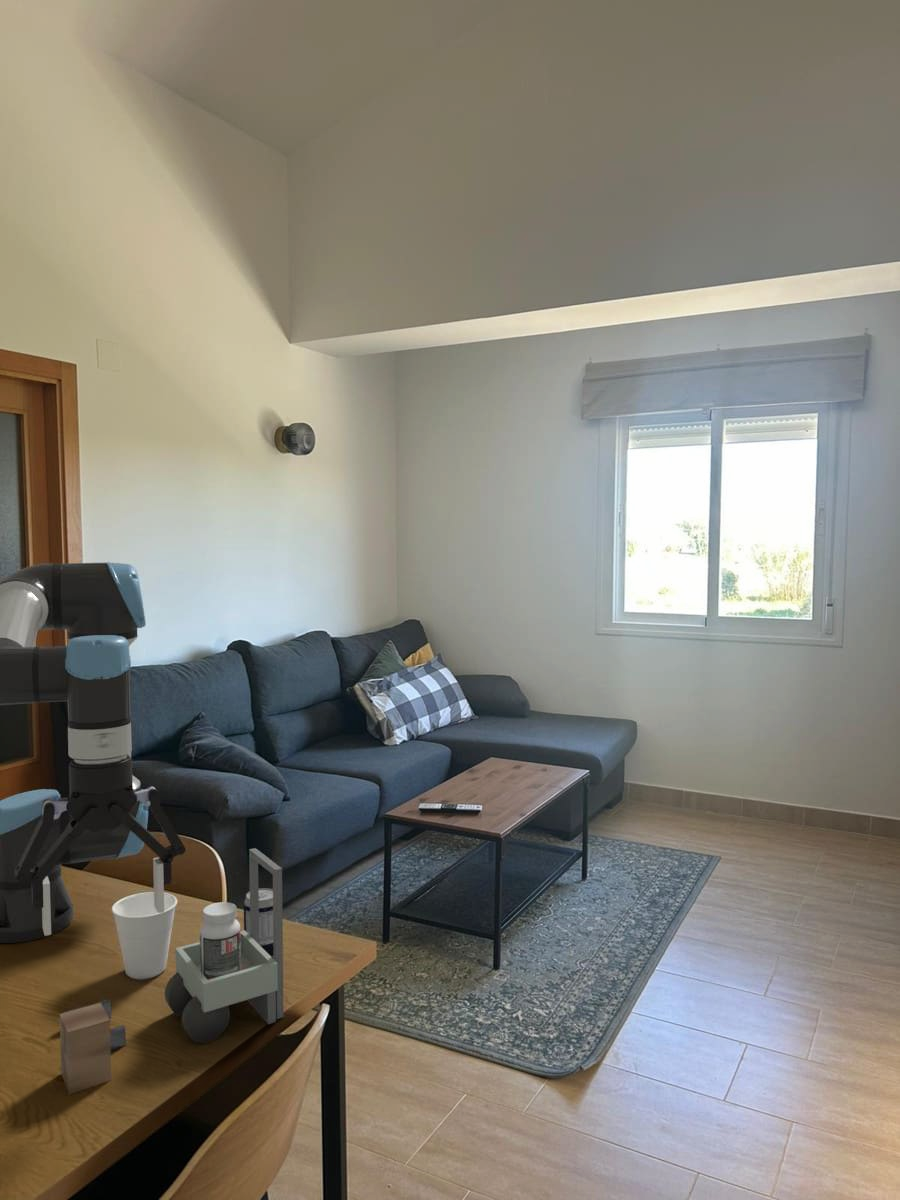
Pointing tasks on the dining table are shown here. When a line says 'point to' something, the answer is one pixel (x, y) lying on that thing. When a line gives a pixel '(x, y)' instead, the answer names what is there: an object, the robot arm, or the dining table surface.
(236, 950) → the pill bottle
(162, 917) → the cup
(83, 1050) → the brown rectangular block
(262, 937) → the cylindrical canister
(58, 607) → the robot arm
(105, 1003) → the grey blocks
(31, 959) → the dining table surface
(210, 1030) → the trolley
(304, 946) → the dining table surface
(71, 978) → the dining table surface
